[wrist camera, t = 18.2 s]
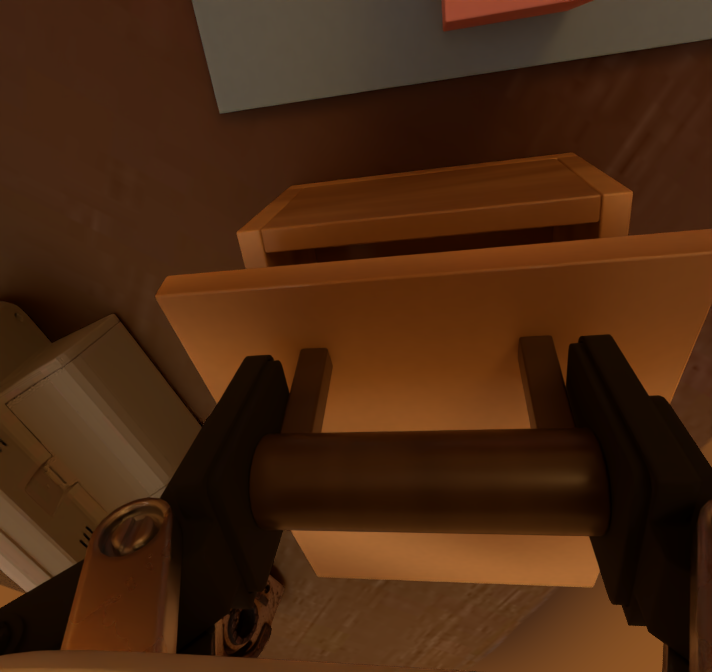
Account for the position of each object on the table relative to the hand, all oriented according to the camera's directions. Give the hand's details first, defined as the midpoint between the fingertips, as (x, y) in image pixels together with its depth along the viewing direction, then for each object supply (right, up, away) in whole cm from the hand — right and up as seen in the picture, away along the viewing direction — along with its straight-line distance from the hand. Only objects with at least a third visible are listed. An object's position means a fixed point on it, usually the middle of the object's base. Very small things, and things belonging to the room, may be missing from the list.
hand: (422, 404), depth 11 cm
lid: (+1, -3, +5) cm, 6 cm away
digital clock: (-16, -2, +18) cm, 24 cm away
